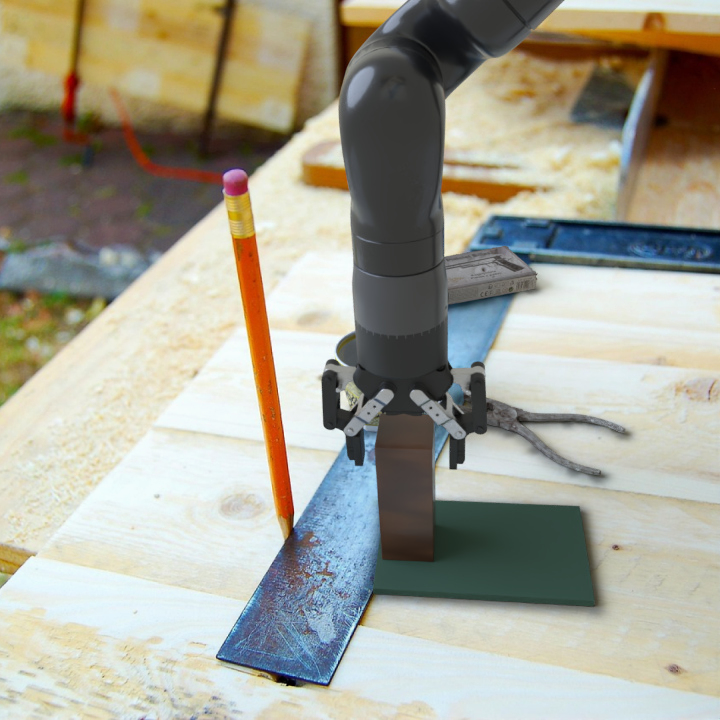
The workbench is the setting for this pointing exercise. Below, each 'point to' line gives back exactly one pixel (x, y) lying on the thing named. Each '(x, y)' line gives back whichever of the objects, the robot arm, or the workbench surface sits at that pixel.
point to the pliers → (511, 415)
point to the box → (487, 274)
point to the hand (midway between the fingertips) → (406, 462)
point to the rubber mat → (498, 556)
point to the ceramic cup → (348, 357)
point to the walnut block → (406, 486)
